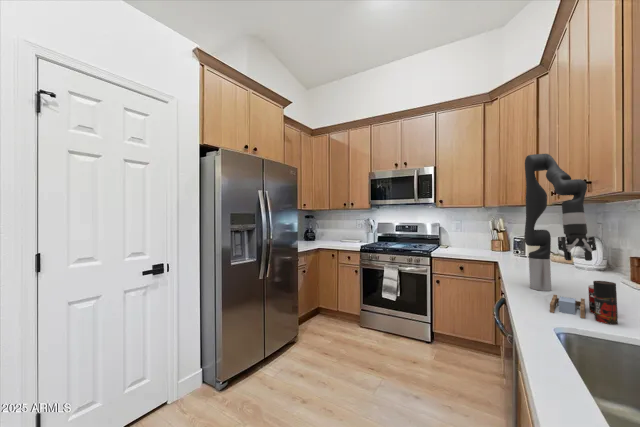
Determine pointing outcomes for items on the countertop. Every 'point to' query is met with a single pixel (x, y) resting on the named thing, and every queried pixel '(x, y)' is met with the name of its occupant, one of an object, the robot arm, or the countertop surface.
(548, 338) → the countertop surface
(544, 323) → the countertop surface
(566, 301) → the block
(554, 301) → the channel
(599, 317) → the deodorant
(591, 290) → the canned food
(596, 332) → the countertop surface
